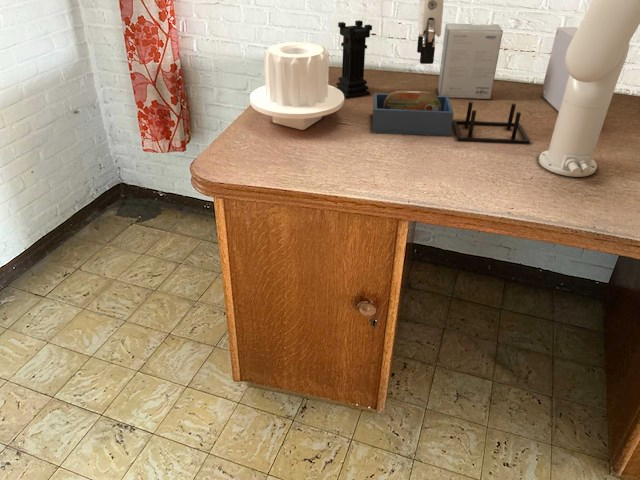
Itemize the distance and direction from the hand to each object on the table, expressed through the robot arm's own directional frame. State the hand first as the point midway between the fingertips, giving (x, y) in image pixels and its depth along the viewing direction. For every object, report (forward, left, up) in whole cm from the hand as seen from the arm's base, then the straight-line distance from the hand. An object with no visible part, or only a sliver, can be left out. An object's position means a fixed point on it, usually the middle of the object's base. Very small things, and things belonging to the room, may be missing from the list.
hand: (424, 57), depth 136 cm
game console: (+15, -44, -18) cm, 50 cm away
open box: (0, +2, -18) cm, 18 cm away
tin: (0, +2, -17) cm, 17 cm away
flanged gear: (0, +32, -18) cm, 37 cm away
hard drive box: (+26, -16, -18) cm, 35 cm away
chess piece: (+24, +18, -18) cm, 35 cm away
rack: (-3, -19, -18) cm, 26 cm away
